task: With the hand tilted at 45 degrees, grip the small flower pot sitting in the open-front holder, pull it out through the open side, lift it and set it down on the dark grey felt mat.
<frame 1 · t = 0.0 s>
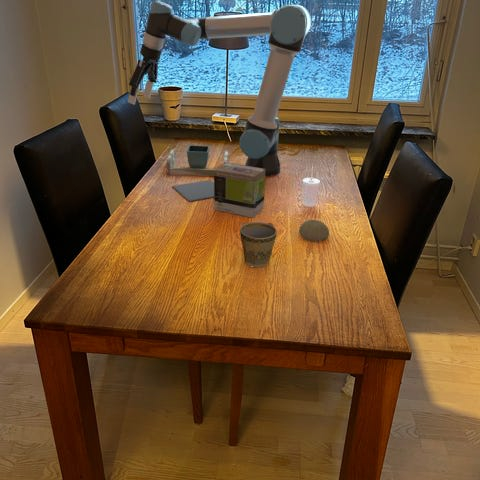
hand: (139, 100, 184), 28 cm above the table, tool tilted 20°, fingers open, 13 cm apart
tea box: (238, 209, 162), on the table
ceramic cup: (259, 260, 131), on the table
beverage cup: (308, 204, 167), on the table
flower pot: (198, 169, 197), resting in holder
mat: (200, 190, 175), on the table
sea urchin shell: (313, 236, 145), on the table
holder: (198, 168, 197), on the table
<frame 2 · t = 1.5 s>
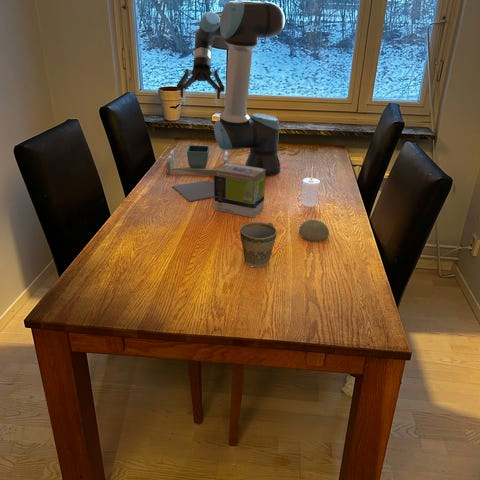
hand: (199, 104, 195), 25 cm above the table, tool tilted 45°, fingers open, 13 cm apart
nothing on the table moved.
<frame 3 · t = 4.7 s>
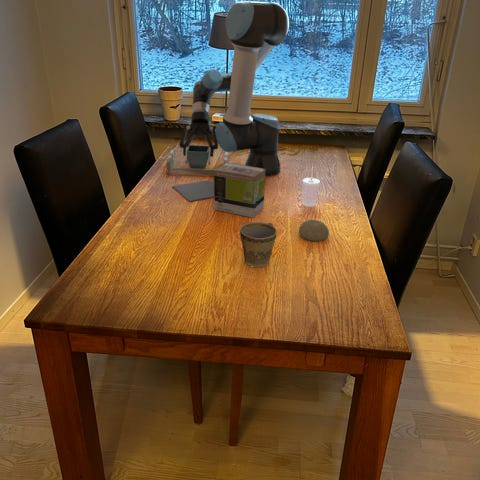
hand: (197, 162, 193), 4 cm above the table, tool tilted 45°, fingers closed on flower pot, 9 cm apart
flower pot: (198, 169, 197), resting in holder, touching gripper
everything else where it was.
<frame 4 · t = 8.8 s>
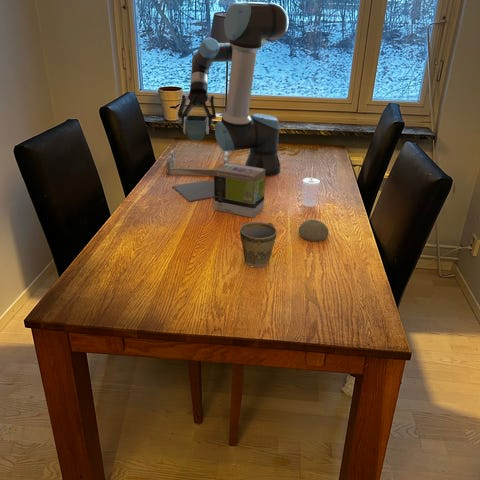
hand: (195, 132, 194), 15 cm above the table, tool tilted 45°, fingers closed on flower pot, 9 cm apart
flower pot: (197, 139, 199), point 11 cm above the table, touching gripper
everything else where it was.
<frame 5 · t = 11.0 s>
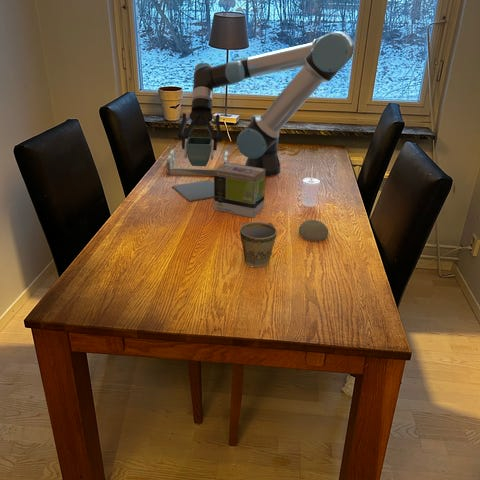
hand: (198, 157, 166), 14 cm above the table, tool tilted 45°, fingers closed on flower pot, 9 cm apart
flower pot: (199, 165, 171), point 10 cm above the table, touching gripper
everything else where it was.
when the fingers open (5 cm above the table, at t = 13.0 s): flower pot stays where it is, resting on mat.
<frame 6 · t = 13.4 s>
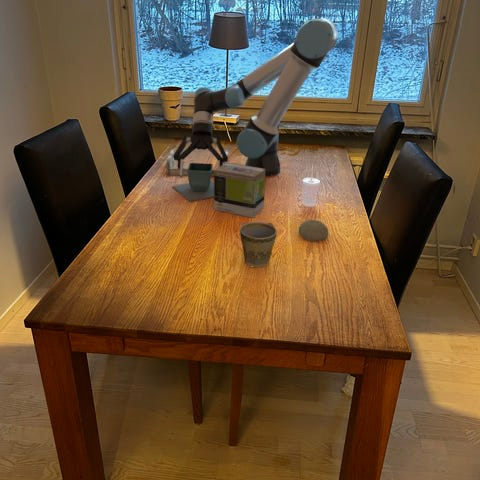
hand: (199, 177, 170), 6 cm above the table, tool tilted 45°, fingers open, 13 cm apart
flower pot: (200, 190, 175), resting on mat
everything else where it was.
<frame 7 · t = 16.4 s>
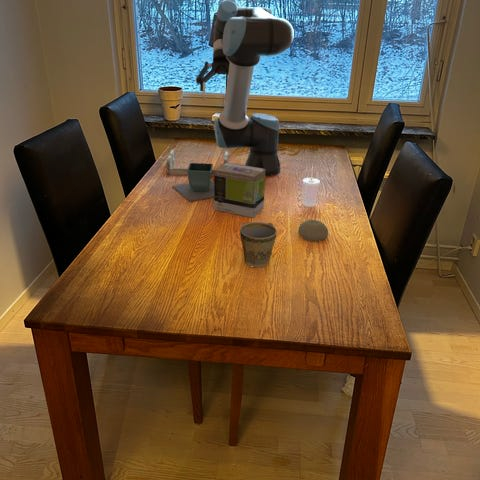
hand: (220, 98, 185), 29 cm above the table, tool tilted 45°, fingers open, 13 cm apart
nothing on the table moved.
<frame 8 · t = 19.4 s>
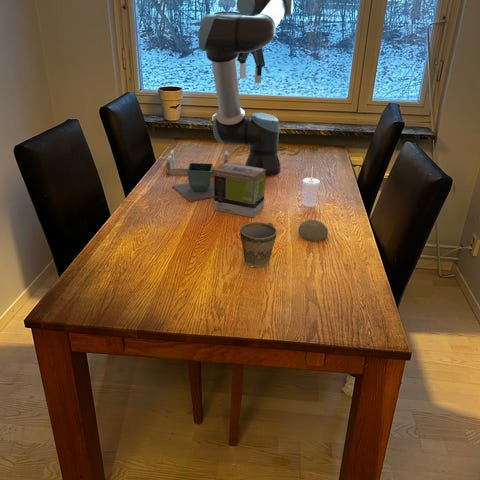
hand: (249, 80, 211), 32 cm above the table, tool pointing down, fingers open, 13 cm apart
nothing on the table moved.
at the end: flower pot inside the target area on the mat (0.2 cm from its centre), point 0.3 cm above the mat's base; flower pot tilted 0°; the gripper is holding nothing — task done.
